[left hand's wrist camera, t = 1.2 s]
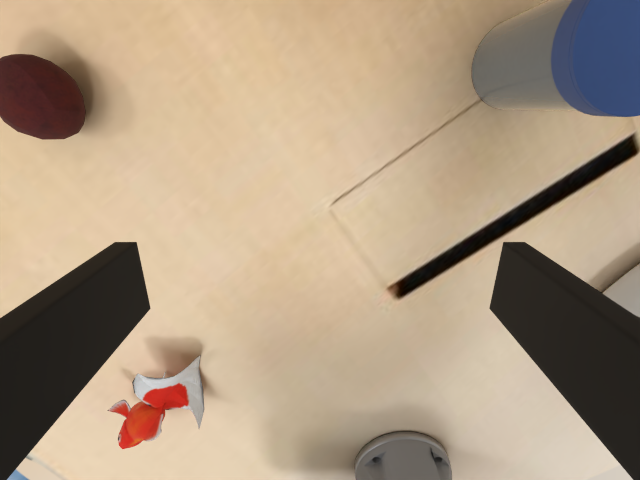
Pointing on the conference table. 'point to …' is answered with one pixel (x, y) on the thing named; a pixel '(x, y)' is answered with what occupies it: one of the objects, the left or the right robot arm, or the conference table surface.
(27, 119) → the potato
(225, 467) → the conference table surface
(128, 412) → the fish
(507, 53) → the jar
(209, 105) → the conference table surface
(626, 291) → the projector
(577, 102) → the lid
